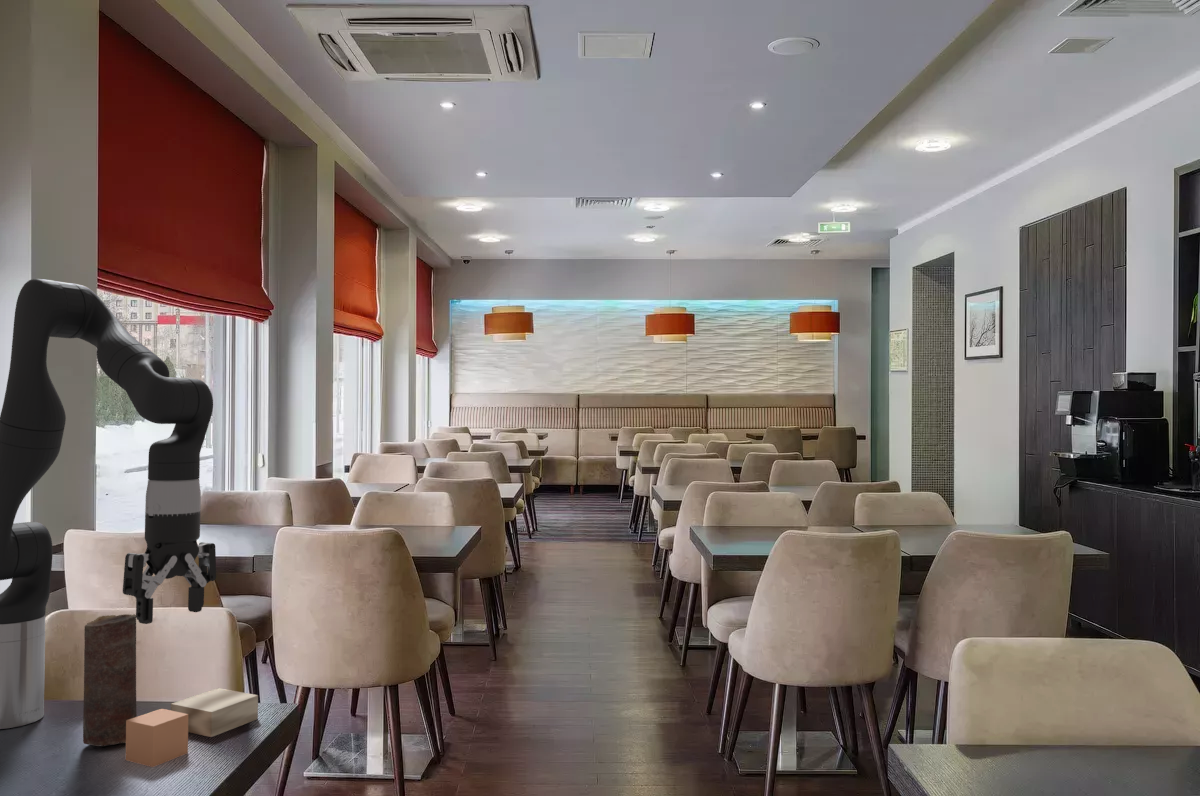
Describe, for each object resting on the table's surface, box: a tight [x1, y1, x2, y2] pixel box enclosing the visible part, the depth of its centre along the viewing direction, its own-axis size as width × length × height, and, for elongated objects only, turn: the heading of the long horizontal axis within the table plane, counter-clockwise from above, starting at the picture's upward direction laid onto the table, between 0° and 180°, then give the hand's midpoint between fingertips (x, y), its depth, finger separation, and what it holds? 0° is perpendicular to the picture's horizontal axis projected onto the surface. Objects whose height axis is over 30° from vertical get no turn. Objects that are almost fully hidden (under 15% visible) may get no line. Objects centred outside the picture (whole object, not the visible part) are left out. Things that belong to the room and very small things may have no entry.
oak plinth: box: [170, 687, 259, 738], centre depth 147 cm, size 10×10×4 cm
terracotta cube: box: [125, 708, 189, 768], centre depth 133 cm, size 6×6×6 cm
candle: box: [82, 613, 138, 747], centre depth 138 cm, size 8×7×20 cm
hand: (170, 617), depth 132 cm, fingers open, 8 cm apart
